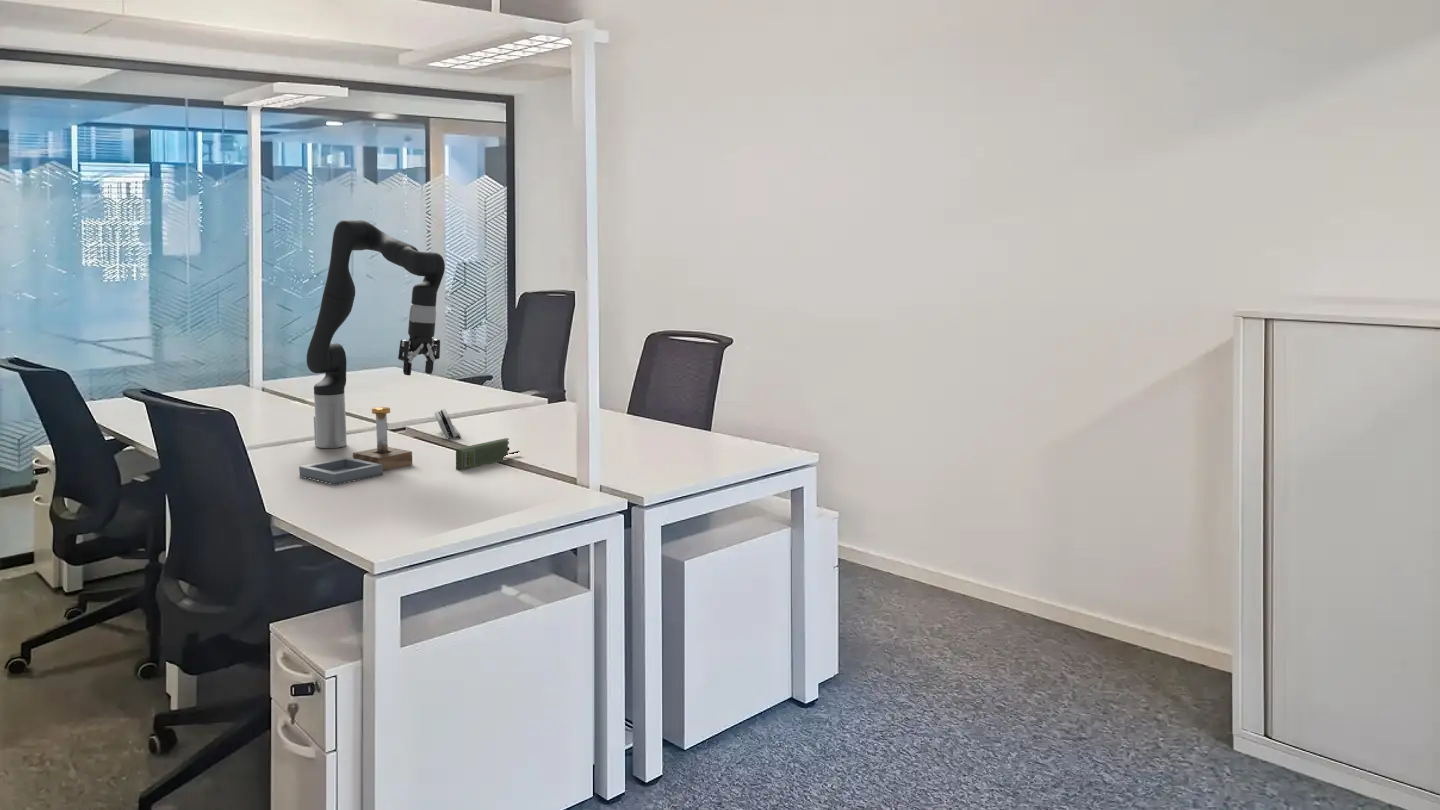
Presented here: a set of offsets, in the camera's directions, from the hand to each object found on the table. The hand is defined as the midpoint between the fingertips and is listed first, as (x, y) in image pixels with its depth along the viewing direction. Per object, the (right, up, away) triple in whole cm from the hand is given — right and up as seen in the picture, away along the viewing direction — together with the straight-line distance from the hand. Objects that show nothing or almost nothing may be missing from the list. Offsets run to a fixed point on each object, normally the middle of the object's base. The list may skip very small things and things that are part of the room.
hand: (417, 374), depth 318 cm
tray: (-18, -29, -12) cm, 37 cm away
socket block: (-11, -27, +2) cm, 29 cm away
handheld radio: (+20, -27, +8) cm, 34 cm away
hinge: (-4, -20, +50) cm, 54 cm away
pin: (-11, -27, +2) cm, 29 cm away
